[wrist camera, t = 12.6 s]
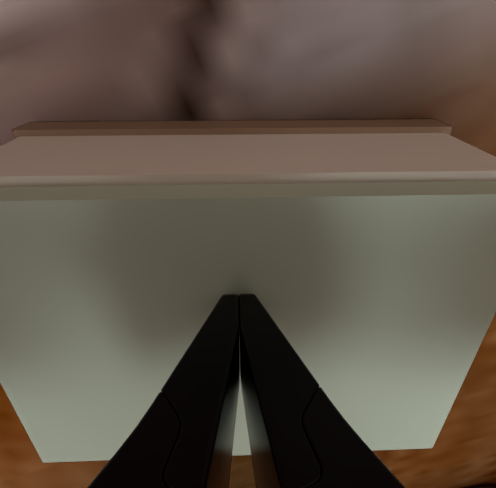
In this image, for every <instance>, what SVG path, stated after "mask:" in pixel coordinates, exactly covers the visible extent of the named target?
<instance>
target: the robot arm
mask: <svg viewBox="0 0 496 488" xmlns="http://www.w3.org/2000/svg"><path fill="white" fill-rule="evenodd" d="M239 339H240V344H239ZM240 378H241V388H242V395H243V402H244V409H245V416H246V422H247V429H248V436H249V443H250V450H251V457H252V464H253V470H254V477H255V484H256V488H405V487H404V486H403V485H402V484H401V483H400V482H399V480H398V479H397V478H396V477H395V476H394V475H393V474H392V473H391V471H390V470H389V469H388V468H387V467H386V466H385V465H384V464H383V462H382V461H381V460H380V459H379V458H378V457H377V456H376V455H375V454H374V452H373V451H372V450H371V449H370V448H369V447H368V446H367V445H366V443H365V442H364V441H363V440H362V439H361V438H360V437H359V435H358V434H357V433H356V432H355V431H354V430H353V428H352V427H351V426H350V425H349V424H348V423H347V421H346V420H345V419H344V418H343V416H342V415H341V414H340V412H339V411H338V410H337V408H336V407H335V406H334V404H333V403H332V402H331V400H330V399H329V398H328V396H327V395H326V393H325V392H324V390H323V389H322V388H321V387H319V384H318V382H317V381H316V379H315V378H314V377H313V375H312V374H311V372H310V371H309V370H308V368H307V367H306V365H305V364H304V363H303V361H302V360H301V358H300V357H299V355H298V354H297V353H296V351H295V350H294V348H293V347H292V346H291V344H290V343H289V341H288V340H287V339H286V337H285V336H284V334H283V333H282V332H281V330H280V329H279V327H278V326H277V324H276V323H275V322H274V320H273V319H272V317H271V316H270V315H269V313H268V312H267V310H266V309H265V308H264V306H263V305H262V303H261V302H260V300H259V299H258V298H257V296H256V295H255V294H240V295H239V297H238V295H237V294H224V295H222V296H221V298H220V299H219V301H218V302H217V304H216V305H215V307H214V308H213V310H212V312H211V313H210V315H209V316H208V318H207V319H206V321H205V322H204V324H203V326H202V327H201V329H200V330H199V332H198V333H197V335H196V336H195V338H194V340H193V341H192V343H191V344H190V346H189V347H188V349H187V350H186V352H185V353H184V355H183V357H182V358H181V360H180V361H179V363H178V364H177V366H176V367H175V369H174V371H173V372H172V374H171V375H170V377H169V378H168V380H167V381H166V383H165V384H164V386H163V388H162V389H161V392H159V393H158V395H157V397H156V398H155V400H154V401H153V403H152V404H151V406H150V407H149V409H148V410H147V412H146V413H145V415H144V416H143V418H142V419H141V420H140V422H139V423H138V425H137V426H136V428H135V429H134V430H133V431H132V433H131V434H130V435H129V437H128V438H127V439H126V440H125V442H124V443H123V444H122V446H121V447H120V448H119V449H118V451H117V452H116V453H115V454H114V456H113V457H112V458H111V459H110V460H109V462H108V463H107V464H106V465H105V467H104V468H103V469H102V470H101V472H100V473H99V474H98V475H97V476H96V478H95V479H94V480H93V481H92V483H91V484H90V485H89V486H88V487H87V488H229V479H230V469H231V460H232V451H233V441H234V432H235V423H236V413H237V404H238V395H239V384H240Z"/></svg>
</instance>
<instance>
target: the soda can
mask: <svg viewBox="0 0 496 488" xmlns="http://www.w3.org/2000/svg"><path fill="white" fill-rule="evenodd" d="M474 488H496V486H481V487H474Z"/></svg>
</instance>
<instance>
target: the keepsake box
mask: <svg viewBox="0 0 496 488" xmlns="http://www.w3.org/2000/svg"><path fill="white" fill-rule="evenodd" d="M451 131H452V126H450V125H448V124H445V123H443V122H441V121H438V120H436V119H378V120H233V121H88V122H29V123H26V124H24V125H22V126H20V127H17V128H15V129H13V130H12V132H13V135H14V138H15V139H14V140H12V141H10V142H7V143H5V144H3V145H1V146H0V187H60V186H140V185H219V184H298V183H377V182H456V181H496V157H495V156H493V155H491V154H489V153H487V152H484V151H482V150H480V149H478V148H476V147H474V146H472V145H470V144H468V143H465V142H463V141H461V140H459V139H457V138H455V137H453V136H451V135H450V134H451Z"/></svg>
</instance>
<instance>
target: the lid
mask: <svg viewBox="0 0 496 488" xmlns="http://www.w3.org/2000/svg"><path fill="white" fill-rule="evenodd" d="M224 294H237V295H238V297H239V295H240V294H255V295H256V296H257V298H258V299H259V300H260V302H261V303H262V305H263V306H264V308H265V309H266V310H267V312H268V313H269V315H270V316H271V317H272V319H273V320H274V322H275V323H276V324H277V326H278V327H279V329H280V330H281V332H282V333H283V334H284V336H285V337H286V339H287V340H288V341H289V343H290V344H291V346H292V347H293V348H294V350H295V351H296V353H297V354H298V355H299V357H300V358H301V360H302V361H303V363H304V364H305V365H306V367H307V368H308V370H309V371H310V372H311V374H312V375H313V377H314V378H315V379H316V381H317V382H318V384H319V387H321V388H322V389H323V390H324V392H325V393H326V395H327V396H328V398H329V399H330V400H331V402H332V403H333V404H334V406H335V407H336V408H337V410H338V411H339V412H340V414H341V415H342V416H343V418H344V419H345V420H346V421H347V423H348V424H349V425H350V426H351V427H352V428H353V430H354V431H355V432H356V433H357V434H358V435H359V437H360V438H361V439H362V440H363V441H364V442H365V443H366V445H367V446H368V447H369V448H370V449H371V450H396V449H423V448H433V446H434V444H435V441H436V439H437V437H438V435H439V433H440V431H441V428H442V426H443V424H444V422H445V420H446V418H447V416H448V413H449V411H450V409H451V407H452V405H453V403H454V400H455V398H456V396H457V394H458V392H459V390H460V388H461V385H462V383H463V381H464V379H465V377H466V375H467V373H468V370H469V368H470V366H471V364H472V362H473V360H474V357H475V355H476V353H477V351H478V349H479V347H480V345H481V342H482V340H483V338H484V336H485V334H486V332H487V330H488V327H489V325H490V323H491V321H492V319H493V317H494V314H495V312H496V181H456V182H377V183H298V184H219V185H140V186H60V187H0V383H1V385H2V387H3V388H4V390H5V392H6V394H7V396H8V398H9V400H10V402H11V403H12V405H13V407H14V409H15V411H16V413H17V415H18V417H19V419H20V420H21V422H22V424H23V426H24V428H25V430H26V432H27V434H28V435H29V437H30V439H31V441H32V443H33V445H34V447H35V449H36V450H37V452H38V454H39V456H40V458H41V460H42V462H43V463H45V462H72V461H99V460H110V459H111V458H112V457H113V456H114V454H115V453H116V452H117V451H118V449H119V448H120V447H121V446H122V444H123V443H124V442H125V440H126V439H127V438H128V437H129V435H130V434H131V433H132V431H133V430H134V429H135V428H136V426H137V425H138V423H139V422H140V420H141V419H142V418H143V416H144V415H145V413H146V412H147V410H148V409H149V407H150V406H151V404H152V403H153V401H154V400H155V398H156V397H157V395H158V393H159V392H161V389H162V388H163V386H164V384H165V383H166V381H167V380H168V378H169V377H170V375H171V374H172V372H173V371H174V369H175V367H176V366H177V364H178V363H179V361H180V360H181V358H182V357H183V355H184V353H185V352H186V350H187V349H188V347H189V346H190V344H191V343H192V341H193V340H194V338H195V336H196V335H197V333H198V332H199V330H200V329H201V327H202V326H203V324H204V322H205V321H206V319H207V318H208V316H209V315H210V313H211V312H212V310H213V308H214V307H215V305H216V304H217V302H218V301H219V299H220V298H221V296H222V295H224ZM239 344H240V339H239ZM234 455H251V450H250V443H249V436H248V429H247V422H246V416H245V409H244V402H243V395H242V388H241V378H240V384H239V395H238V404H237V413H236V423H235V432H234V441H233V451H232V456H234Z"/></svg>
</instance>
